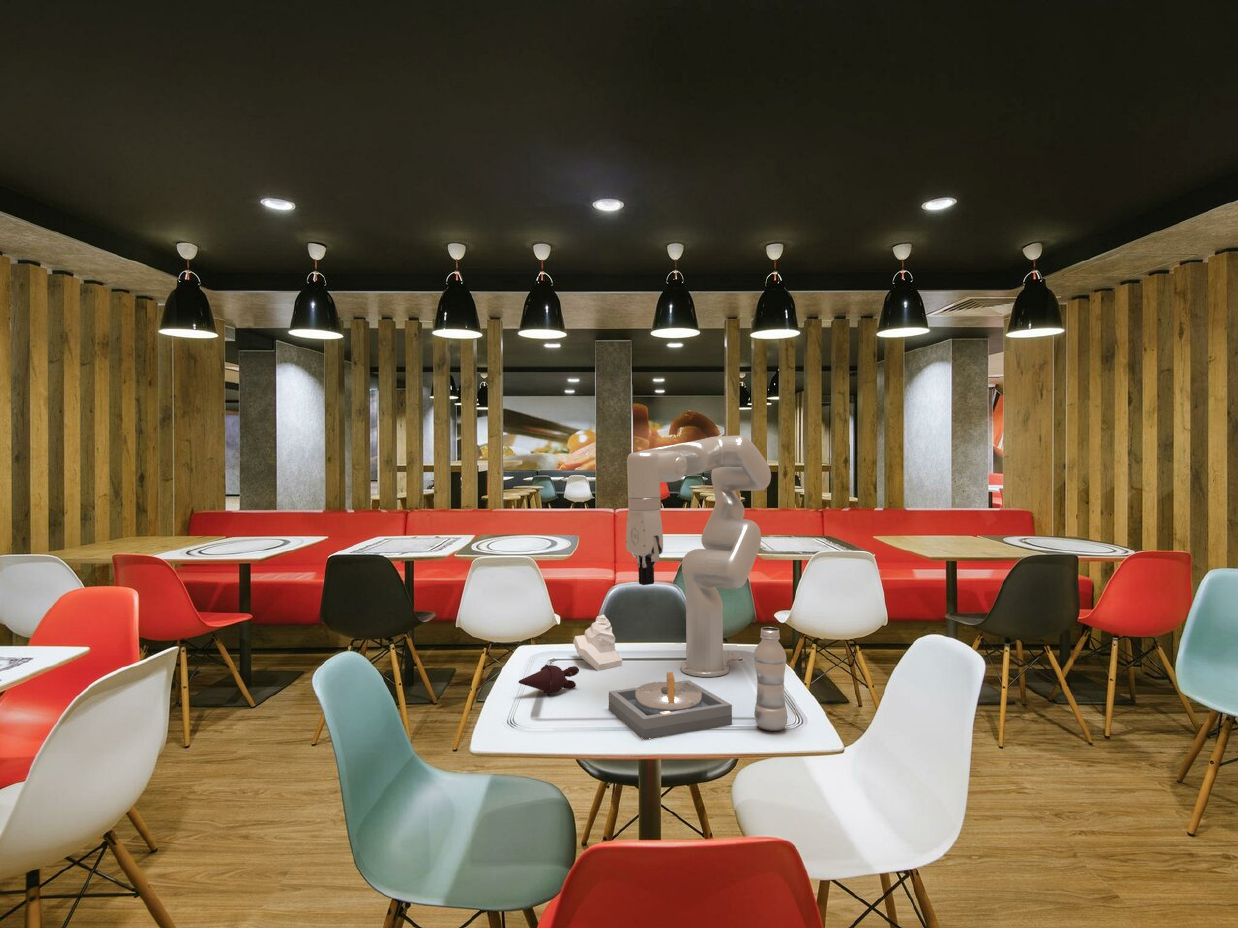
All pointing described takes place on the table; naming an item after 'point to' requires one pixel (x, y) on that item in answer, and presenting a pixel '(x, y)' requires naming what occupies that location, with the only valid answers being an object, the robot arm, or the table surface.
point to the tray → (670, 714)
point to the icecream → (551, 679)
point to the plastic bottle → (770, 681)
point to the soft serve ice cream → (598, 645)
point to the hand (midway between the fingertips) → (646, 583)
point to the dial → (667, 696)
